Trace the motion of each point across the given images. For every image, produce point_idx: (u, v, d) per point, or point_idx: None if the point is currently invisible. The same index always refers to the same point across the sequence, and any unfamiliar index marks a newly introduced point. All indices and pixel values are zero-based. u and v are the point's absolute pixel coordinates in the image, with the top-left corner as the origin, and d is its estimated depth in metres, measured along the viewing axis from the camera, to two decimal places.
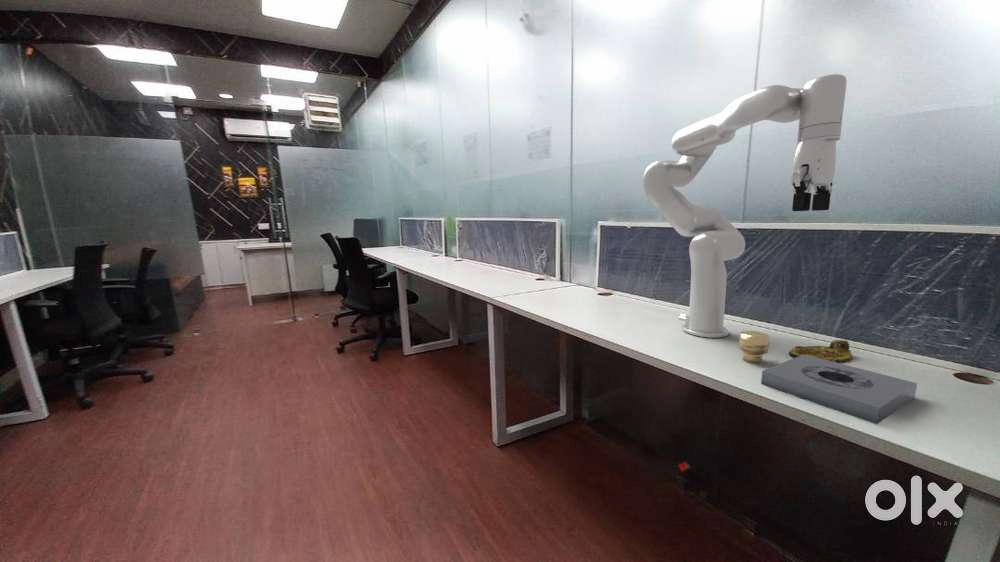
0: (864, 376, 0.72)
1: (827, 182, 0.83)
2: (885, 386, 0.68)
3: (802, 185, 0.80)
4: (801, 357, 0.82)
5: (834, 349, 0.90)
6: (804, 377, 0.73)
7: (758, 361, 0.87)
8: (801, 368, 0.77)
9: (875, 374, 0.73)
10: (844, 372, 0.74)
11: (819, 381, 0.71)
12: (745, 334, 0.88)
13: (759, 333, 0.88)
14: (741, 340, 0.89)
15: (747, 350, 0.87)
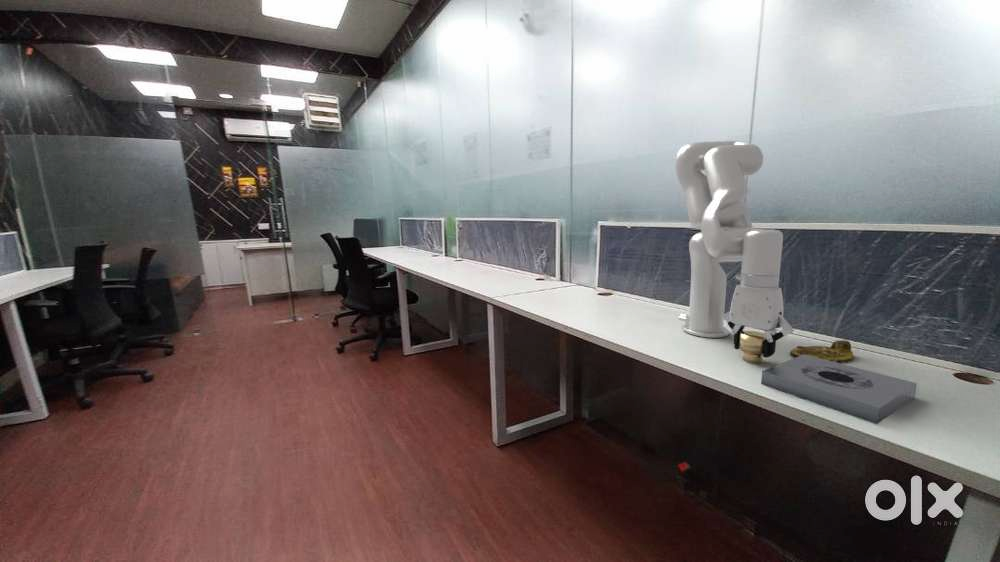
0: (864, 376, 0.72)
1: None
2: (885, 386, 0.68)
3: None
4: (801, 357, 0.82)
5: (836, 349, 0.89)
6: (804, 377, 0.73)
7: (758, 361, 0.87)
8: (801, 368, 0.77)
9: (875, 374, 0.73)
10: (844, 372, 0.74)
11: (819, 381, 0.71)
12: (745, 334, 0.88)
13: (759, 334, 0.88)
14: (741, 340, 0.88)
15: (747, 350, 0.87)
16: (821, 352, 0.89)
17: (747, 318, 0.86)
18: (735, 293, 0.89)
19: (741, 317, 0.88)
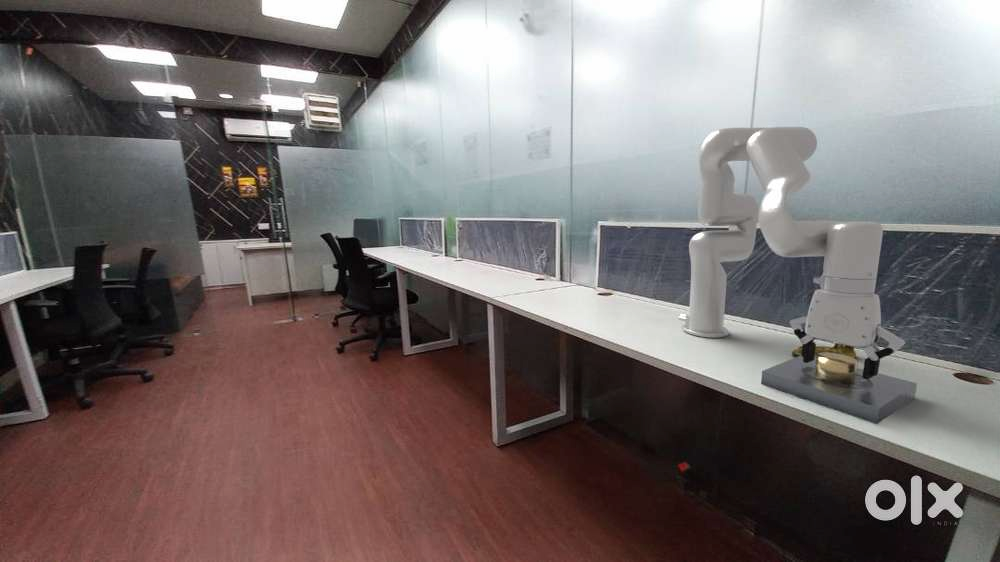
0: None
1: None
2: (885, 386, 0.68)
3: None
4: (801, 357, 0.82)
5: (838, 349, 0.89)
6: (804, 377, 0.73)
7: None
8: (801, 368, 0.77)
9: None
10: None
11: (819, 381, 0.71)
12: (825, 357, 0.72)
13: (842, 357, 0.72)
14: (820, 364, 0.72)
15: (829, 377, 0.71)
16: None
17: (831, 331, 0.70)
18: (814, 300, 0.72)
19: (823, 330, 0.71)
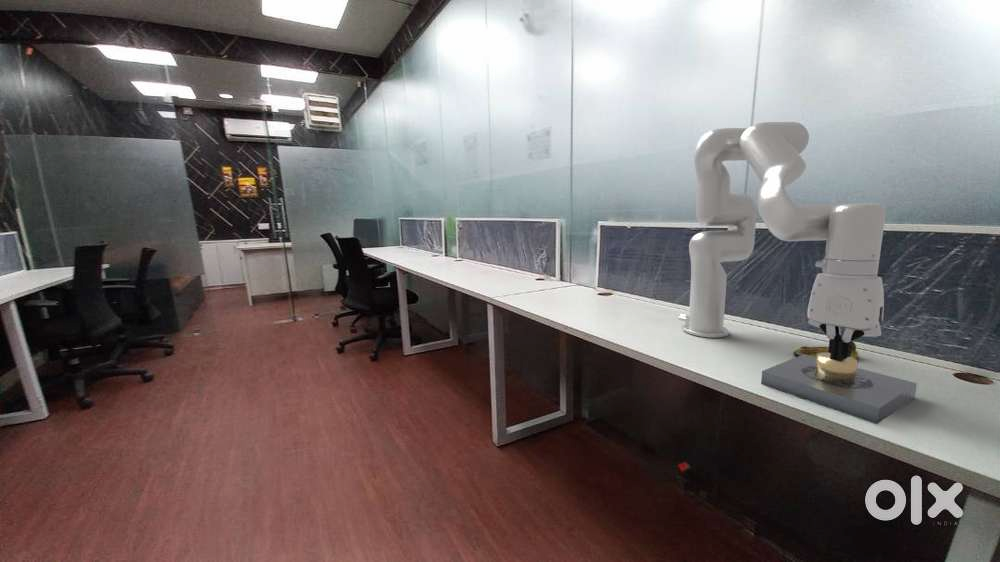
0: (864, 376, 0.72)
1: None
2: (885, 386, 0.68)
3: None
4: (801, 357, 0.82)
5: None
6: (804, 377, 0.73)
7: None
8: (801, 368, 0.77)
9: (875, 374, 0.73)
10: None
11: (819, 381, 0.71)
12: (825, 357, 0.72)
13: None
14: (820, 364, 0.72)
15: (829, 377, 0.71)
16: None
17: (833, 315, 0.69)
18: (816, 284, 0.71)
19: (825, 314, 0.70)
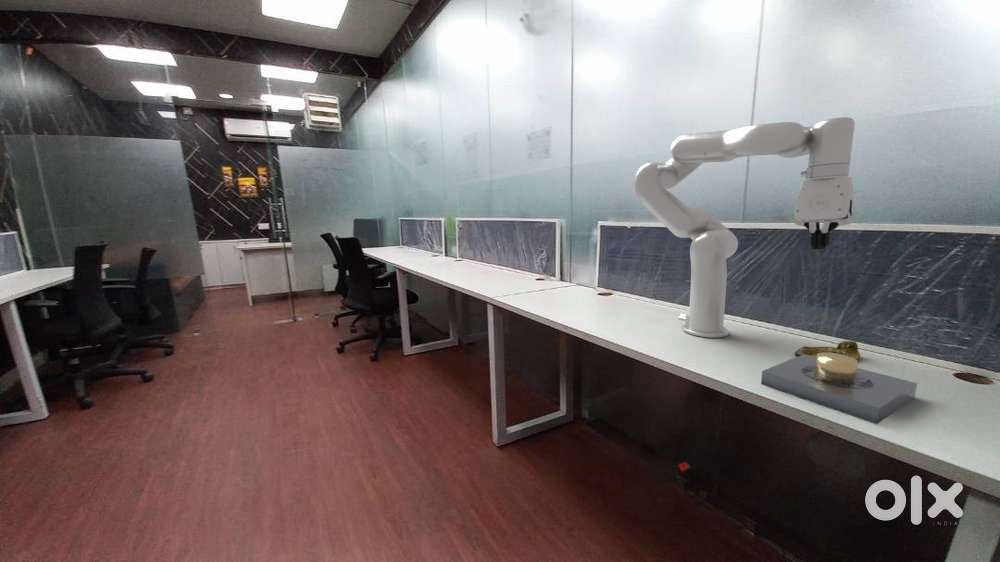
0: (864, 376, 0.72)
1: None
2: (885, 386, 0.68)
3: None
4: (801, 357, 0.82)
5: (842, 350, 0.89)
6: (804, 377, 0.73)
7: None
8: (801, 368, 0.77)
9: (875, 374, 0.73)
10: None
11: (819, 381, 0.71)
12: (825, 357, 0.72)
13: (842, 357, 0.72)
14: (820, 364, 0.72)
15: (829, 377, 0.71)
16: None
17: (814, 211, 0.87)
18: (801, 189, 0.89)
19: (808, 211, 0.88)
